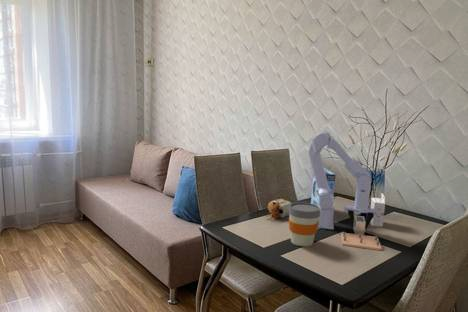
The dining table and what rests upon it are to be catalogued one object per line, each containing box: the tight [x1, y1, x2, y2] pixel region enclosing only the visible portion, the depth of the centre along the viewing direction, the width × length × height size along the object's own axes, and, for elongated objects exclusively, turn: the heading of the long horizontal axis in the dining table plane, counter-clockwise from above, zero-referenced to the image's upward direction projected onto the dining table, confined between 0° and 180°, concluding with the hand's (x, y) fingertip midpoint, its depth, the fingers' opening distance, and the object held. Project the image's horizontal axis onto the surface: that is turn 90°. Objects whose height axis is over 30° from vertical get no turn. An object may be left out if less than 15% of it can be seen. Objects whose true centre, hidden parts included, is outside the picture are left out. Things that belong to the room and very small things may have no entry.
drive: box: [352, 214, 366, 235], centre depth 154 cm, size 4×8×6 cm, turn 165°
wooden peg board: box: [340, 231, 383, 251], centre depth 143 cm, size 15×12×2 cm
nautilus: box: [265, 198, 292, 221], centre depth 170 cm, size 8×22×15 cm
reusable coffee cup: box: [288, 201, 320, 247], centre depth 140 cm, size 13×13×15 cm
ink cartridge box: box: [370, 192, 386, 227], centre depth 164 cm, size 9×5×15 cm, turn 168°
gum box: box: [310, 167, 337, 206], centre depth 177 cm, size 20×5×23 cm, turn 4°
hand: (358, 227), depth 154 cm, fingers open, 5 cm apart
